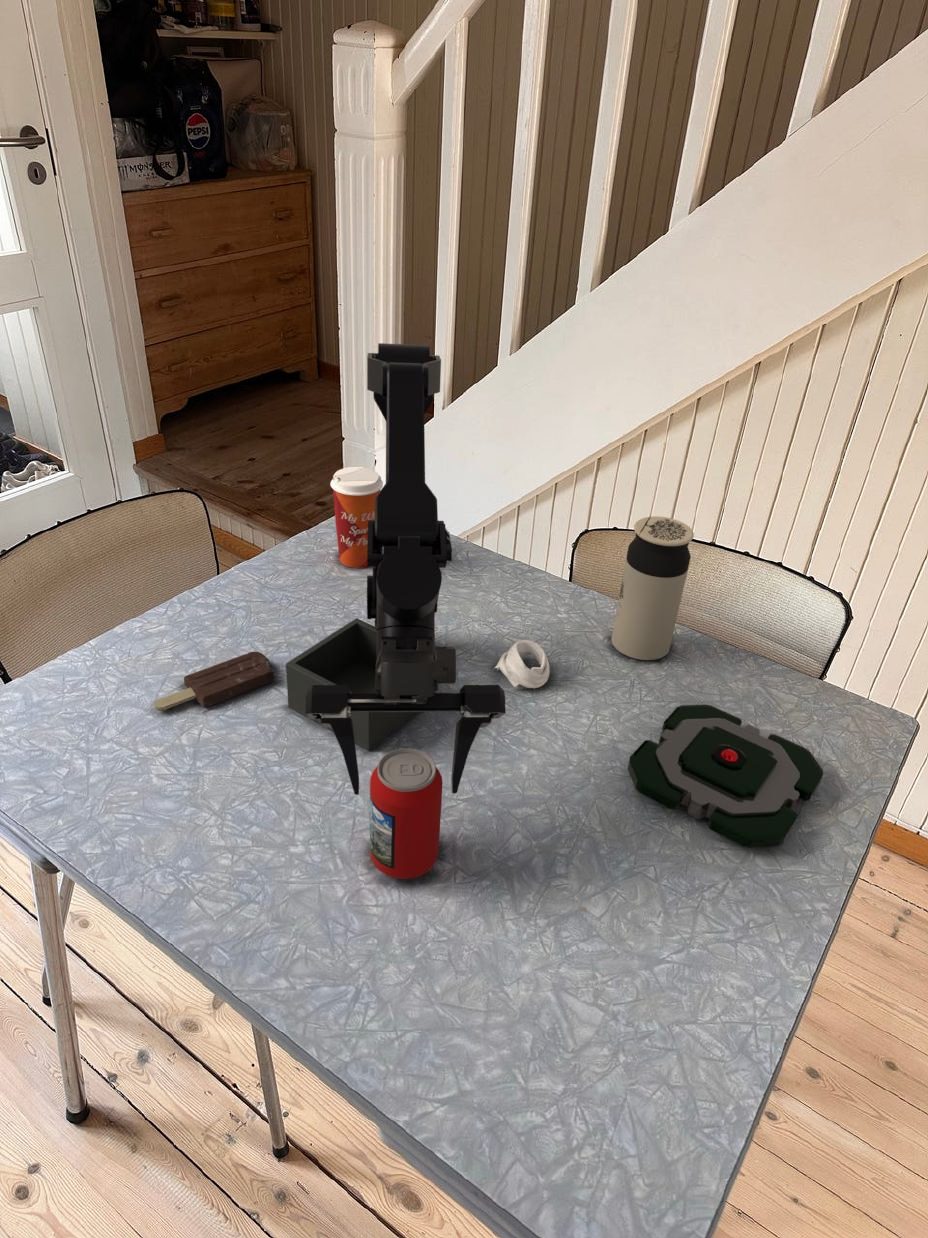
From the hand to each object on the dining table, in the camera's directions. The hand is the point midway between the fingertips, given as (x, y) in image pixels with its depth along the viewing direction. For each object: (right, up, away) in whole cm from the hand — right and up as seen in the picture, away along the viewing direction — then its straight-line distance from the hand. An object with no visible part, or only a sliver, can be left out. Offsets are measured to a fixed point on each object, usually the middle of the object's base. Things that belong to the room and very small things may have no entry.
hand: (405, 794), depth 82 cm
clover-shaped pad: (+35, -2, +16) cm, 38 cm away
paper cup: (-11, +26, +53) cm, 60 cm away
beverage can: (0, -7, +4) cm, 8 cm away
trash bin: (-7, +6, +24) cm, 26 cm away
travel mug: (+30, +13, +38) cm, 50 cm away
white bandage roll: (+13, +9, +31) cm, 35 cm away
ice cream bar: (-25, +8, +24) cm, 36 cm away
